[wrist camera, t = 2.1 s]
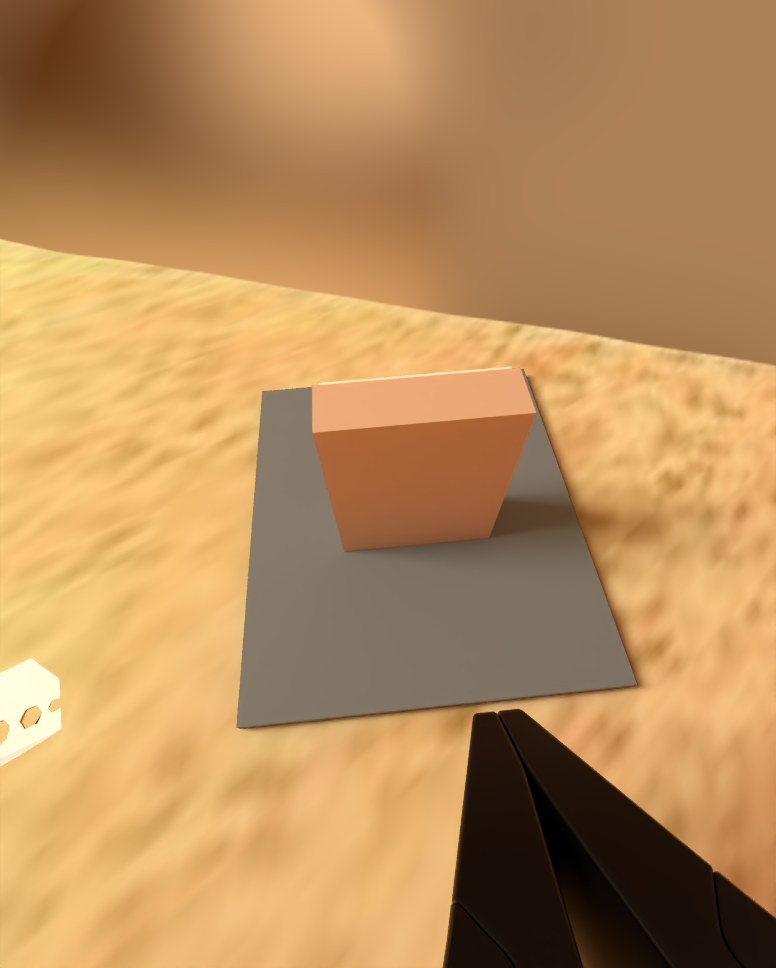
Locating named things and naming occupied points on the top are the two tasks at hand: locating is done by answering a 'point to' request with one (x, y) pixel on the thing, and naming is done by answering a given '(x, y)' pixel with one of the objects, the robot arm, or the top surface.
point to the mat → (414, 597)
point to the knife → (27, 707)
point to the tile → (420, 453)
